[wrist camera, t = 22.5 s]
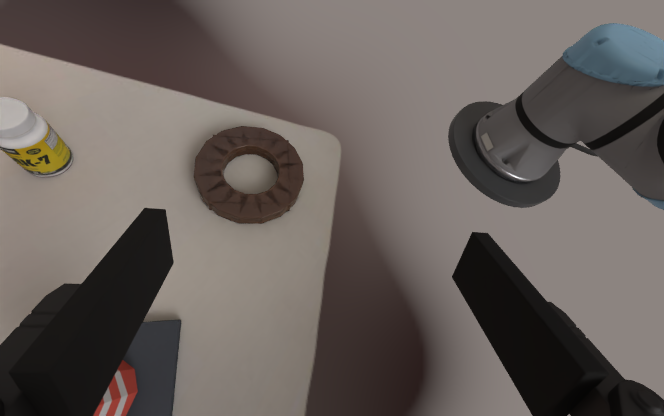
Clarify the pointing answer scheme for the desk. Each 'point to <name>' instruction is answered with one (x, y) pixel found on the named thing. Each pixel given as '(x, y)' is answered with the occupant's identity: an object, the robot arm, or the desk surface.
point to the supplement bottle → (31, 140)
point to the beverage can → (119, 393)
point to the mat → (154, 367)
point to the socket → (240, 204)
